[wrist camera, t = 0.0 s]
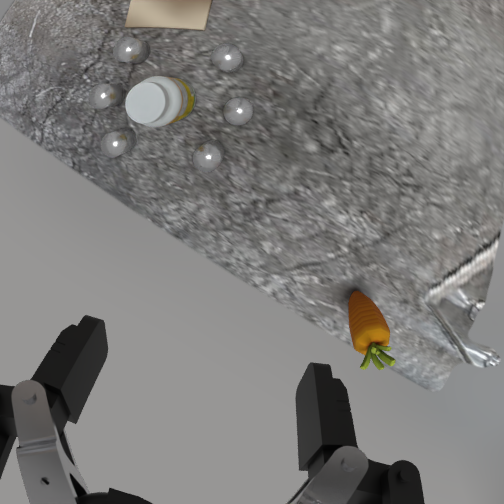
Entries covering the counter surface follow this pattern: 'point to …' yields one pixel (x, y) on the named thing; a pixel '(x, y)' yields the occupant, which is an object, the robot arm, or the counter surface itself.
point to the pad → (168, 14)
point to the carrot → (369, 330)
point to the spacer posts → (114, 94)
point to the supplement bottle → (160, 101)
